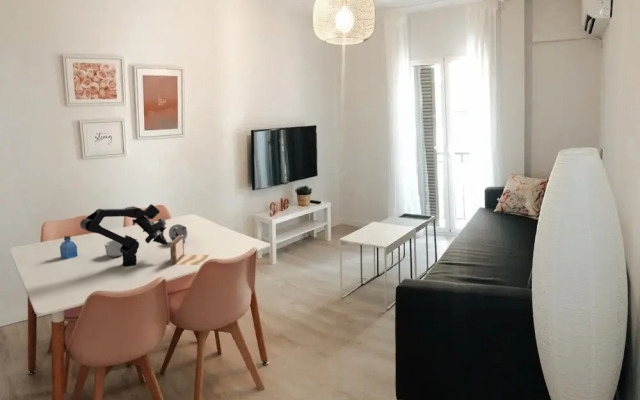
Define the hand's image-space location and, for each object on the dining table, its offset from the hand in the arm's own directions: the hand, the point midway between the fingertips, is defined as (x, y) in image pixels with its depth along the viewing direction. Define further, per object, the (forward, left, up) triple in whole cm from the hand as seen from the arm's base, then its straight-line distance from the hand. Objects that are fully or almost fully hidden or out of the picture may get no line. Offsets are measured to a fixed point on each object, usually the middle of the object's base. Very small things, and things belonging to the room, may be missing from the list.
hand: (167, 244), depth 268 cm
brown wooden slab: (+5, -3, -9) cm, 10 cm away
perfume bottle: (-51, +28, -9) cm, 59 cm away
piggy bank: (+10, +33, -9) cm, 36 cm away
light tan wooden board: (+11, -4, -9) cm, 15 cm away
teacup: (-26, +22, -9) cm, 36 cm away
